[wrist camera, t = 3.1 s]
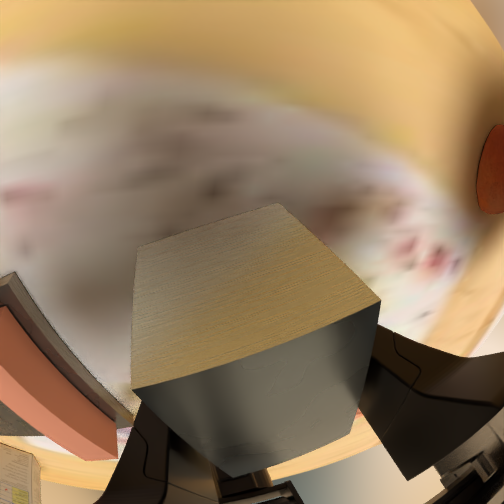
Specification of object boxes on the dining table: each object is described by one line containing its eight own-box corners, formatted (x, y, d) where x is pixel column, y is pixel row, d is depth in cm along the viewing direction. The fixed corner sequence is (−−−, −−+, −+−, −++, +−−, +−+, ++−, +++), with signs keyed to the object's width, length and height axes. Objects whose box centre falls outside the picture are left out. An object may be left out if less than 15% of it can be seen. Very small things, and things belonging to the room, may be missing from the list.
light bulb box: (-20, 445, 16) (-24, 507, 7) (-36, 425, 14) (-44, 496, 5) (42, 468, 21) (46, 533, 12) (33, 453, 18) (35, 529, 9)
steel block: (278, 202, 9) (381, 300, 5) (297, 344, 13) (349, 433, 8) (137, 247, 8) (131, 390, 4) (204, 377, 12) (233, 477, 8)
